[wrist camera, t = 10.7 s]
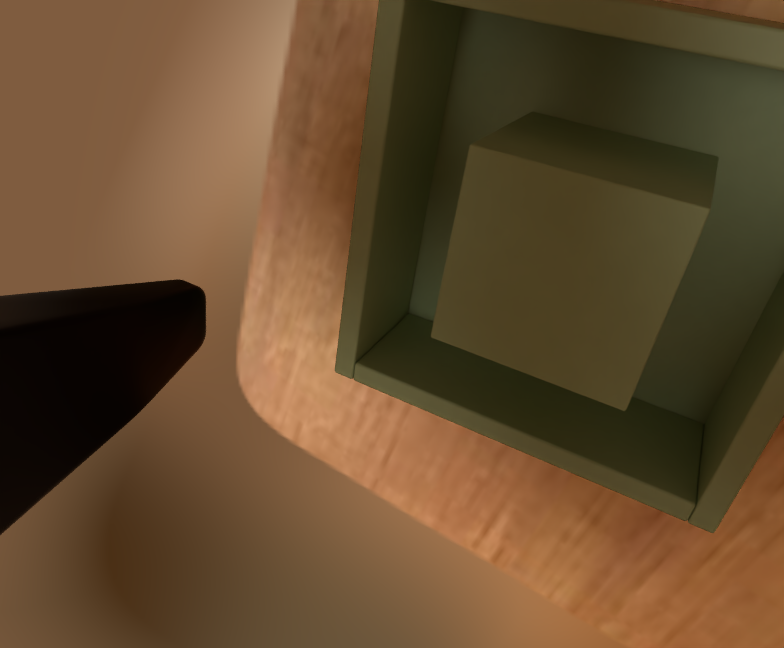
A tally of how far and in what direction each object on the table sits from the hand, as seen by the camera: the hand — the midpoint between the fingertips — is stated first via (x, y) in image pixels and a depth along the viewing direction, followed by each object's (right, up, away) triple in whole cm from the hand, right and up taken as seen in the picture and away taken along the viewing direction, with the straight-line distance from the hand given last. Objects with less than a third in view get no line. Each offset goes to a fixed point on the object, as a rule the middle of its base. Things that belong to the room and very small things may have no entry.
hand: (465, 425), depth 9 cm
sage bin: (+4, +4, +8) cm, 10 cm away
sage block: (+4, +4, +8) cm, 10 cm away
